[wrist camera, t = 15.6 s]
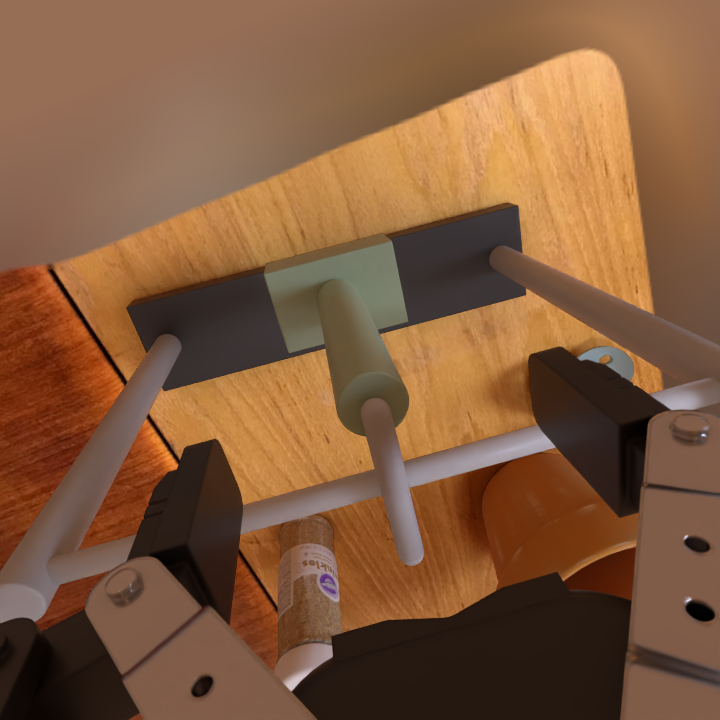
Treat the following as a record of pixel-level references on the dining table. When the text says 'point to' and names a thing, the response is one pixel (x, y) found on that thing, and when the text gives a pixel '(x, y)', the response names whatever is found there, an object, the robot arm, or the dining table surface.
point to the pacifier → (617, 362)
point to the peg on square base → (355, 353)
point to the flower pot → (557, 528)
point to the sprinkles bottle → (306, 598)
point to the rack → (266, 345)
